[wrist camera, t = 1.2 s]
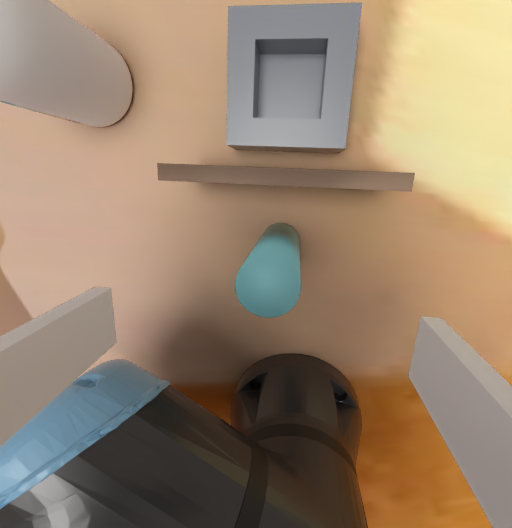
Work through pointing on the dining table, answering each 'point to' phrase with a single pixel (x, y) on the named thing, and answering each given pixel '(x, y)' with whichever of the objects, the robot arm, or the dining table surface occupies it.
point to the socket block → (291, 76)
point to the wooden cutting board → (287, 177)
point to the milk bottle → (60, 65)
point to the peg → (271, 273)
